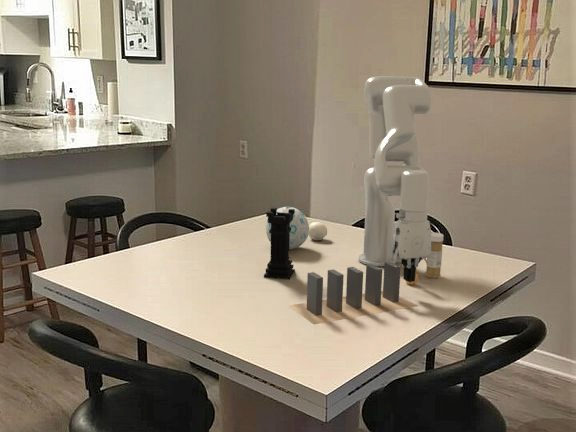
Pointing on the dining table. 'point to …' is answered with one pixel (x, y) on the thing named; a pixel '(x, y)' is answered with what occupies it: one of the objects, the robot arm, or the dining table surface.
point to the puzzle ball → (294, 228)
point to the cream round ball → (317, 231)
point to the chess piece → (280, 245)
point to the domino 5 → (391, 281)
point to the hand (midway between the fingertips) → (408, 280)
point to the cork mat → (351, 309)
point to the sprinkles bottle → (435, 256)
